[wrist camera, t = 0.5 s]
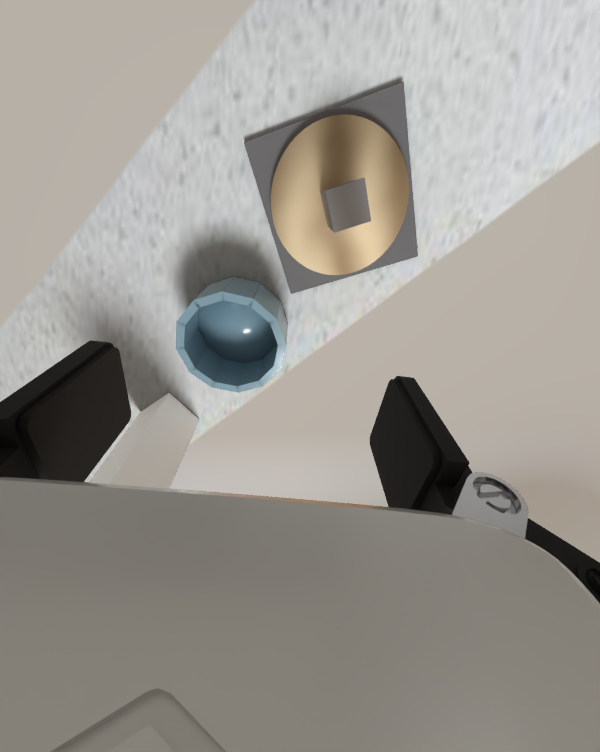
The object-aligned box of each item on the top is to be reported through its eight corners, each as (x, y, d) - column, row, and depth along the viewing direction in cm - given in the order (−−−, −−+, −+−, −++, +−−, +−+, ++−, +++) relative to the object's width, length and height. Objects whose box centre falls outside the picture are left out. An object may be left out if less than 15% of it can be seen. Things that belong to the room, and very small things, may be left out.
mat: (401, 83, 25) (403, 81, 24) (416, 255, 32) (417, 256, 31) (244, 143, 27) (244, 142, 26) (291, 292, 34) (291, 293, 33)
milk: (140, 411, 42) (12, 582, 24) (169, 391, 41) (56, 559, 22) (172, 437, 45) (79, 611, 26) (201, 419, 43) (124, 592, 24)
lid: (397, 92, 25) (429, 59, 19) (412, 252, 31) (438, 265, 25) (251, 147, 26) (238, 133, 21) (293, 288, 33) (293, 308, 27)
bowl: (268, 265, 32) (262, 278, 27) (297, 352, 38) (297, 377, 32) (177, 294, 34) (155, 312, 29) (217, 373, 39) (205, 400, 34)
